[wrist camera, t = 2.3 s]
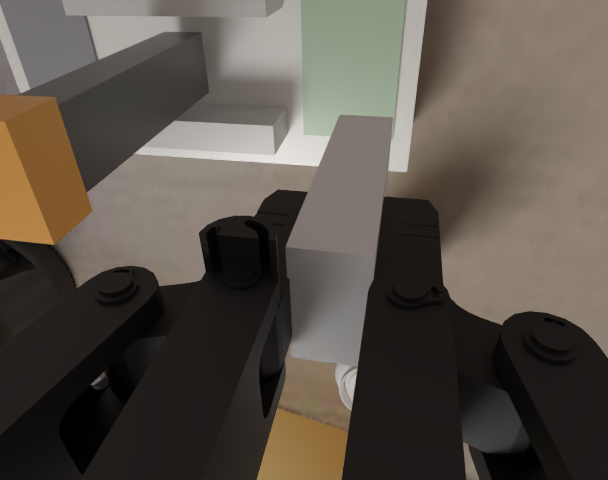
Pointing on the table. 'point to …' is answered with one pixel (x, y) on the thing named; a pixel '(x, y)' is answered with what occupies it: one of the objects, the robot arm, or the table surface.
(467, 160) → the table surface
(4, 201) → the lever
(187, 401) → the robot arm
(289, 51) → the breaker block
